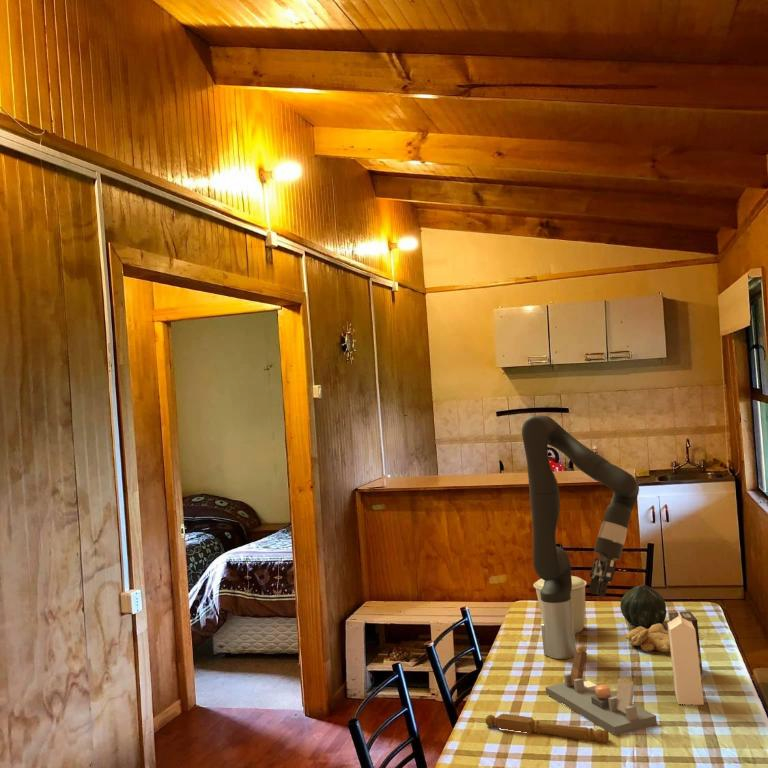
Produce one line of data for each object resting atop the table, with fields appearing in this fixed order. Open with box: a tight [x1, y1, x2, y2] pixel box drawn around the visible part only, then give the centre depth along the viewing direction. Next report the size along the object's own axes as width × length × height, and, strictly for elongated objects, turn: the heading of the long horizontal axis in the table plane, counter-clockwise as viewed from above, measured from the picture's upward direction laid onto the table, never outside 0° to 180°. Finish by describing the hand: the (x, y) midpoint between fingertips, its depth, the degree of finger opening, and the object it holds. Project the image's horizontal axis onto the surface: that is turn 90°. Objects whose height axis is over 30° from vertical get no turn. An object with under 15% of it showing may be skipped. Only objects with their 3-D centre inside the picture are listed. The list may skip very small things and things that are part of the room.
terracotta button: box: [595, 684, 612, 698], centre depth 185 cm, size 4×4×2 cm
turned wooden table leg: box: [485, 713, 610, 744], centre depth 176 cm, size 3×3×30 cm
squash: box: [620, 584, 667, 629], centre depth 252 cm, size 14×15×15 cm
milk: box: [667, 610, 704, 706], centre depth 187 cm, size 6×6×22 cm
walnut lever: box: [569, 644, 587, 685], centre depth 198 cm, size 3×3×11 cm
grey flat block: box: [615, 677, 635, 713], centre depth 178 cm, size 1×5×7 cm, turn 18°
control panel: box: [545, 672, 658, 737], centre depth 187 cm, size 12×30×5 cm, turn 20°
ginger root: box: [624, 623, 671, 653], centre depth 229 cm, size 16×16×8 cm
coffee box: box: [667, 611, 704, 680], centre depth 205 cm, size 9×6×16 cm
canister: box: [533, 575, 587, 635], centre depth 253 cm, size 18×18×21 cm
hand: (596, 594), depth 210 cm, fingers open, 8 cm apart
